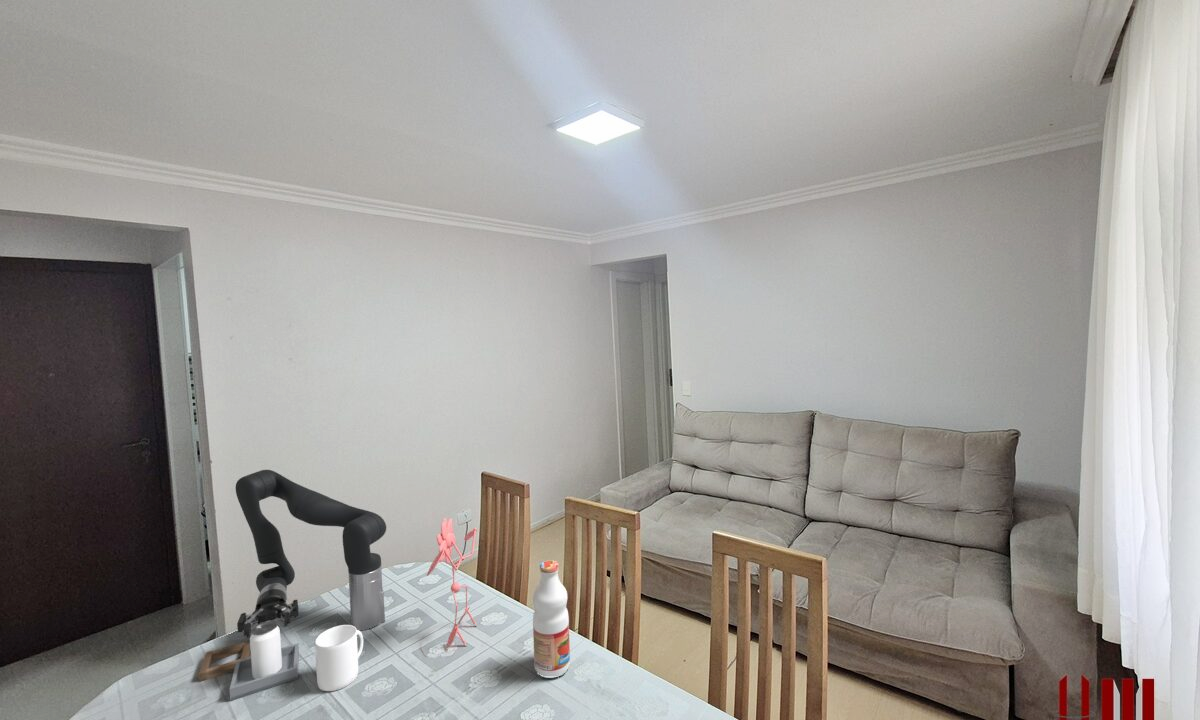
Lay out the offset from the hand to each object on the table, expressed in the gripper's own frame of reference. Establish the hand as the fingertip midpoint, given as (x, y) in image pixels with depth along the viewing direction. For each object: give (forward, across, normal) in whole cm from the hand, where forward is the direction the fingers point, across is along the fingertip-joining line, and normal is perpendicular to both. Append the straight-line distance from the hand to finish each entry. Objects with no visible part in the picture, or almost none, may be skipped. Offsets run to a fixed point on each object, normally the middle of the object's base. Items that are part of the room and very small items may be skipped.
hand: (267, 628), depth 131 cm
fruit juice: (+45, +65, +10) cm, 79 cm away
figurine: (+15, +45, +10) cm, 48 cm away
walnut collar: (-6, -10, +9) cm, 15 cm away
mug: (+17, +17, +10) cm, 26 cm away
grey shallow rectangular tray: (+6, 0, +9) cm, 11 cm away
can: (+6, 0, +9) cm, 11 cm away
